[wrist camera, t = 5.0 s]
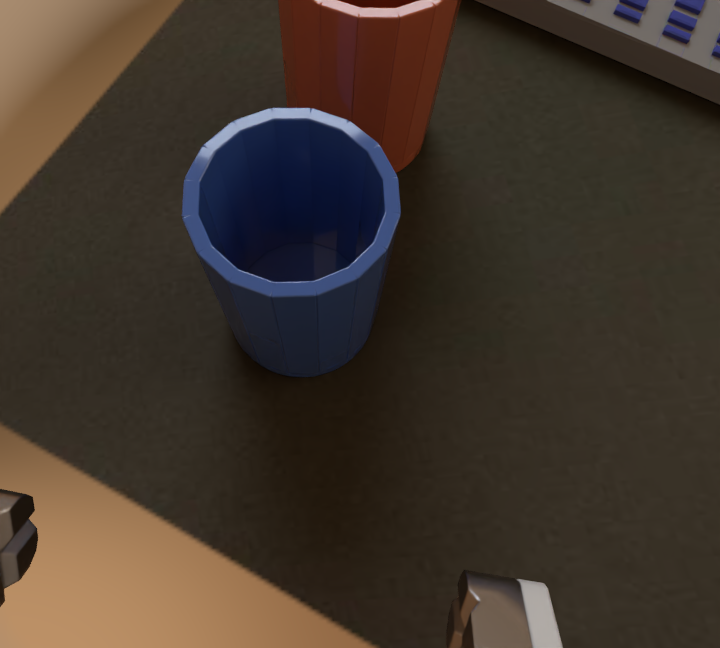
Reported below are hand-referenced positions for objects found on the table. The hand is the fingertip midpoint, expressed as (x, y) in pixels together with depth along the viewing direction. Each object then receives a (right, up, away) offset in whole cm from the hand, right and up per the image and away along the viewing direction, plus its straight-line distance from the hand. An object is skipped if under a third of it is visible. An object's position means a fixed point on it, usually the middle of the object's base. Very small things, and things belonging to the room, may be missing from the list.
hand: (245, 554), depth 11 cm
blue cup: (0, +5, +16) cm, 17 cm away
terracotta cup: (+2, +15, +19) cm, 24 cm away
